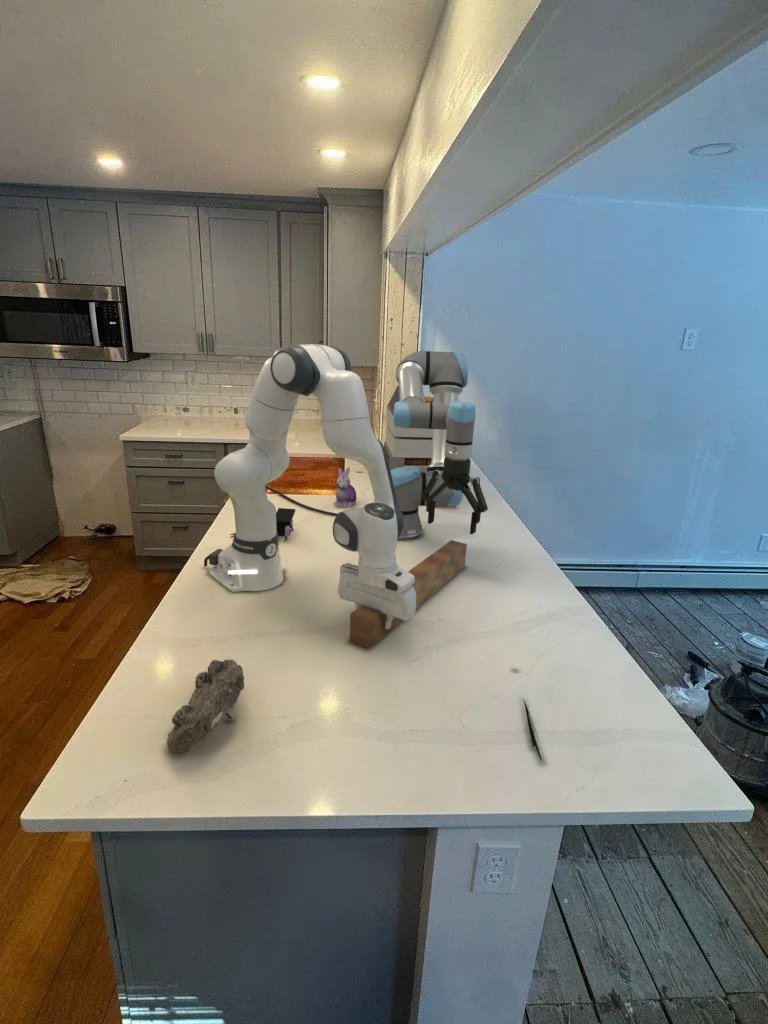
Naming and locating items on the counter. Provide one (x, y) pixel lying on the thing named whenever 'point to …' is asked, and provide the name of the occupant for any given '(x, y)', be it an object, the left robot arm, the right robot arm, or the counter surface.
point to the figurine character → (284, 522)
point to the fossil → (206, 705)
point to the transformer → (406, 440)
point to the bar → (427, 582)
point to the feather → (532, 731)
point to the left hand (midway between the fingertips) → (374, 623)
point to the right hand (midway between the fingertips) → (451, 527)
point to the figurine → (345, 490)
